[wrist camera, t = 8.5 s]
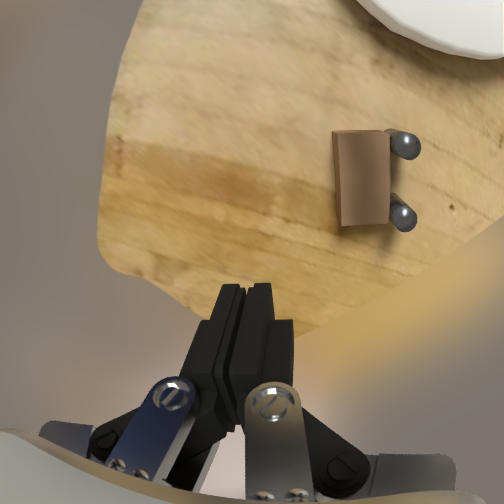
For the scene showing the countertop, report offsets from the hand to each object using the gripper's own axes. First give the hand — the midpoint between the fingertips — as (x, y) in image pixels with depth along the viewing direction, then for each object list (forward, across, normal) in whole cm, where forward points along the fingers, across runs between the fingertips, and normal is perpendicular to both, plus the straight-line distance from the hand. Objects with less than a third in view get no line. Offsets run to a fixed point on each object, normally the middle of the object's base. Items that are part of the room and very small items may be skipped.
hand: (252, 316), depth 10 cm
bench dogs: (+22, -12, 0) cm, 25 cm away
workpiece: (+22, -8, 0) cm, 23 cm away
